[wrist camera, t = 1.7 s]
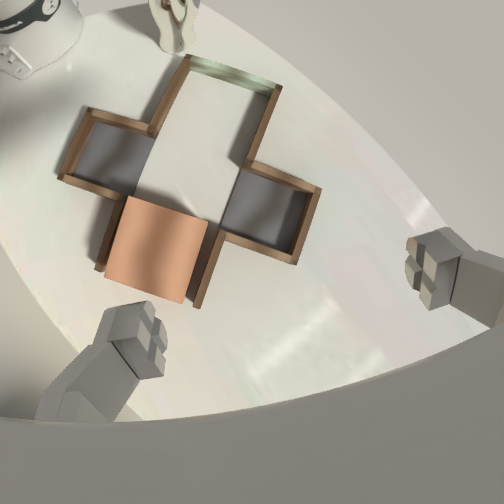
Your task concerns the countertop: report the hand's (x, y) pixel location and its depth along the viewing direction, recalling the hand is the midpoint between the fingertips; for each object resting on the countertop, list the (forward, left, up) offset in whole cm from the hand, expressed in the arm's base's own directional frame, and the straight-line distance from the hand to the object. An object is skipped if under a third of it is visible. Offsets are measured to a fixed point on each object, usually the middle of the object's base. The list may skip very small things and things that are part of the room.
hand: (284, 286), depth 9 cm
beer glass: (-19, +29, -35) cm, 49 cm away
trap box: (-8, +8, -35) cm, 36 cm away
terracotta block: (-8, -2, -35) cm, 36 cm away
